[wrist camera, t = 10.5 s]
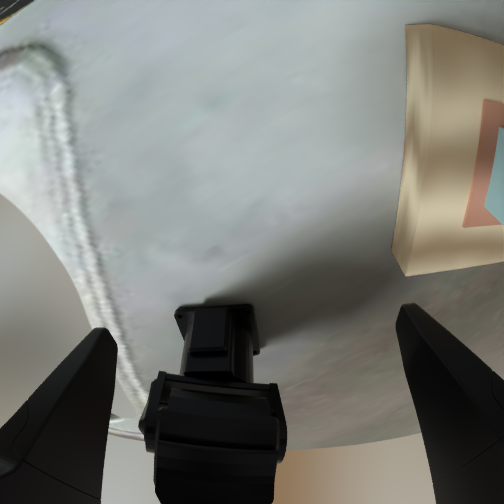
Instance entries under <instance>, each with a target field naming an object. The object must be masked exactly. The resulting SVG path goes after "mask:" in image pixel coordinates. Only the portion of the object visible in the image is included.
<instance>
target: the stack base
mask: <svg viewBox="0 0 504 504" xmlns="http://www.w3.org/2000/svg"><path fill="white" fill-rule="evenodd" d="M405 30H406V51H407V109H406V131H405V146H404V158H403V169H402V179H401V187H400V196H399V203H398V211H397V218H396V224H395V230H394V237H393V242H392V248H391V252H392V253H393V255H394V257H395V258H396V260H397V262H398V264H399V266H400V267H401V269H402V271H403V273H404V275H405V276H413V275H420V274H428V273H434V272H441V271H448V270H455V269H461V268H467V267H474V266H480V265H486V264H492V263H498V262H503V261H504V226H503V225H502V224H501V223H500V222H499V221H498V220H497V219H496V218H495V217H494V216H493V215H492V214H491V213H490V212H489V211H488V210H487V209H486V208H485V207H484V205H485V201H486V197H487V192H488V188H489V184H490V179H491V174H492V169H493V164H494V158H495V152H496V146H497V139H498V132H499V127H504V45H502V44H499V43H496V42H493V41H491V40H488V39H485V38H481V37H478V36H475V35H472V34H468V33H465V32H461V31H457V30H454V29H450V28H446V27H442V26H437V25H433V24H418V25H405Z"/></svg>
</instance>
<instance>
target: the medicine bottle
mask: <svg viewBox="0 0 504 504" xmlns="http://www.w3.org/2000/svg"><path fill="white" fill-rule="evenodd" d="M33 1H35V0H0V25H1V24H2V23H4V22H5V21H6V20H8V19H9V18H10V17H12V16H13V15H14V14H16V13H17V12H19V11H20V10H22V9H23V8H24V7H26V6H27V5H29V4H30V3H32V2H33Z"/></svg>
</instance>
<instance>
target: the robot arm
mask: <svg viewBox="0 0 504 504" xmlns="http://www.w3.org/2000/svg"><path fill="white" fill-rule="evenodd" d="M247 310H248V311H247ZM180 314H181V315H180ZM174 317H175V319H176V322H177V324H178V327H179V329H180V332H181V334H182V337H183V339H184V341H185V342H184V348H183V355H182V362H181V368H180V375H176V374H169V373H167V372H164V371H159V373H158V377H157V379H155V380H154V381H153V382H152V383H151V388H150V393H149V397H148V401H147V404H146V406H145V408H144V411H143V413H142V416H141V418H140V420H139V425H138V428H139V430H140V431H141V432H142V434H143V435H144V441H145V444H146V451H147V452H151V453H155V456H154V484H155V493H156V495H157V497H158V499H159V501H160V503H161V504H272V502H273V500H274V481H275V473H276V466H277V463H281V462H282V460H283V458H284V456H285V452H286V446H287V425H286V420H285V416H284V411H283V407H282V403H281V398H280V394H279V390H278V385H277V383H269V384H259V383H254V381H253V356H255V355H258V354H260V346H259V340H258V333H257V326H256V319H255V312H254V307H253V306H252V305H250V304H241V305H228V306H214V307H199V308H183V309H177V310H176V311H175V314H174ZM396 332H397V337H398V341H399V346H400V351H401V356H402V361H403V366H404V371H405V375H406V378H407V382H408V385H409V388H410V392H411V395H412V399H413V402H414V406H415V409H416V413H417V417H418V421H419V425H420V428H421V432H422V436H423V440H424V445H425V449H426V453H427V458H428V462H429V467H430V472H431V476H432V482H433V488H434V493H435V499H436V504H504V380H503V379H502V378H501V377H500V376H499V375H498V374H496V373H495V372H494V371H492V369H491V368H490V367H489V366H488V365H486V364H485V363H484V362H483V361H482V360H481V359H480V358H479V357H478V356H477V355H475V354H474V353H473V352H472V351H471V350H470V349H469V348H468V347H466V346H465V345H464V344H463V343H462V342H461V341H460V340H458V339H457V338H456V337H455V336H454V335H453V334H451V333H450V332H449V331H448V330H447V329H446V328H444V327H443V326H442V325H441V324H440V323H439V322H437V321H436V320H435V319H434V318H433V317H431V316H430V315H429V314H428V313H427V312H425V311H424V310H423V309H422V308H421V307H419V306H418V305H417V304H415V303H408V304H403V305H402V306H401V308H400V311H399V314H398V317H397V321H396ZM117 353H118V347H117V343H116V342H115V340H114V338H113V337H112V335H111V333H110V332H109V330H108V329H107V328H94V329H93V330H92V331H91V332H90V333H89V334H88V335H87V336H86V337H85V338H84V339H83V340H82V341H81V342H80V343H79V345H77V346H76V347H75V349H74V350H73V351H72V352H71V353H70V354H69V355H68V356H67V357H66V358H65V359H64V360H63V361H62V362H61V364H59V365H58V367H57V368H56V369H55V370H54V371H53V372H52V373H51V374H50V375H49V376H48V377H47V378H46V379H45V381H44V382H43V383H42V384H41V385H40V386H39V387H38V388H37V389H36V390H35V392H34V393H33V394H32V395H31V396H30V397H29V398H28V400H27V401H26V402H25V403H24V404H23V405H22V406H21V407H20V408H19V409H18V411H17V412H16V413H15V414H14V415H13V416H12V417H11V418H10V419H9V420H8V421H7V422H6V423H5V424H4V425H3V426H2V427H1V428H0V504H101V500H100V499H101V490H102V478H103V468H104V460H105V459H104V458H105V451H106V443H107V435H108V428H109V422H110V415H111V409H112V403H113V396H114V389H115V377H116V364H117Z"/></svg>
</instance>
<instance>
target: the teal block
mask: <svg viewBox="0 0 504 504" xmlns="http://www.w3.org/2000/svg"><path fill="white" fill-rule="evenodd" d="M484 207H485V208H486V209H487V210H488V211H489V212H490V213H491V214H492V215H493V216H494V217H495V218H496V219H497V220H498V221H499V222H500V223H501V224H502V225H503V226H504V127H499V132H498V139H497V146H496V152H495V158H494V164H493V169H492V174H491V179H490V184H489V188H488V192H487V197H486V201H485V205H484Z"/></svg>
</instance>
